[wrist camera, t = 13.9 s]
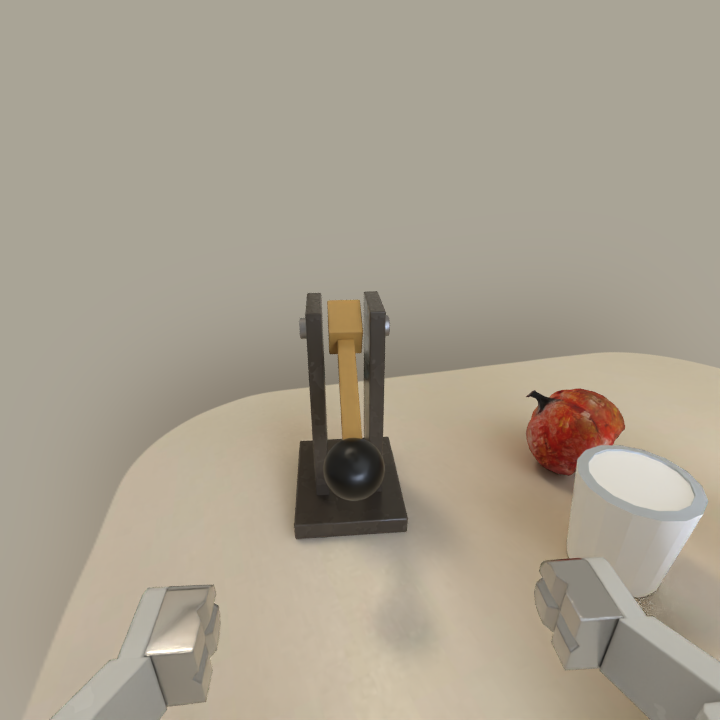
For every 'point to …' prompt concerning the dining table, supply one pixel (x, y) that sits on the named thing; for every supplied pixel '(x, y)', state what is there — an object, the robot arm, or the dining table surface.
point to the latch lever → (350, 411)
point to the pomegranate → (571, 427)
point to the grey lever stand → (314, 498)
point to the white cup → (632, 513)
